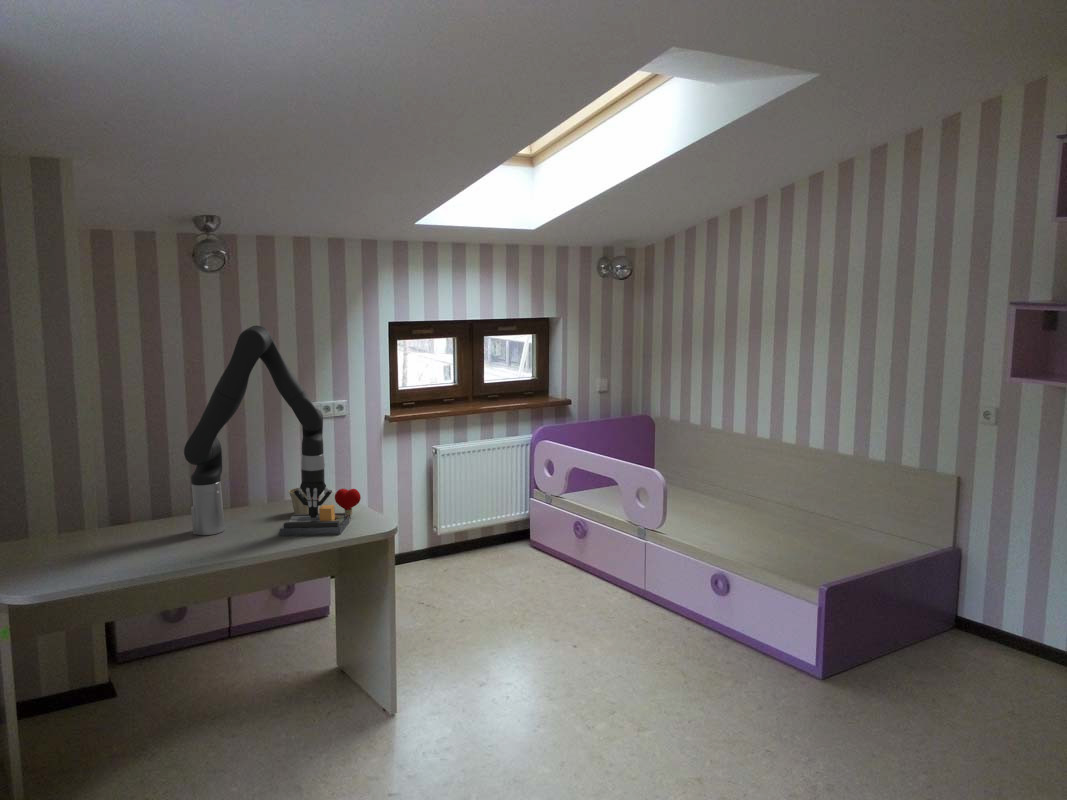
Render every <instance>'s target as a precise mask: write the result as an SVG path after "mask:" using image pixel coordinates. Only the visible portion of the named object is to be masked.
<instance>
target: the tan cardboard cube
mask: <svg viewBox="0 0 1067 800" xmlns="http://www.w3.org/2000/svg"><path fill="white" fill-rule="evenodd" d="M318 513H319V515H320V521H326V520H335V513H336V512H335V504H322V505H321V506H320V507H318Z"/></svg>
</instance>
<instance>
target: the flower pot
mask: <svg viewBox="0 0 1067 800" xmlns="http://www.w3.org/2000/svg"><path fill="white" fill-rule="evenodd" d="M299 488H300V487H295V488H292V489H290V490H287V492H288V494H289V496H290V498H291V503H292V507H293V514H309V507H308V506H307V505H303V504H302V502H301V501H300V500H299V499H298V497H297V496H296V495H295V494H294V491H295V490H297V489H299ZM302 492H303V491H302ZM302 494H303V495H304V496H305V498H306V499H307V496H306V495H305V494H304V492H303V493H302Z"/></svg>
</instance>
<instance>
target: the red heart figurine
mask: <svg viewBox="0 0 1067 800" xmlns="http://www.w3.org/2000/svg"><path fill="white" fill-rule="evenodd" d="M361 499H362V496H361V493H360V491H359V490H357V489H356V488H350V489H345V488H340V489H338V490H337V491H336V492H335V495H334V500H335V503H336V505H338V506H339V507H340V508H342V509H344V513H345V515H346V516H348V515H349V517H351V516H352V515H353V508H354V507H355V506H357V505H359V503H360V501H361Z"/></svg>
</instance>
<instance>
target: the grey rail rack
mask: <svg viewBox="0 0 1067 800" xmlns="http://www.w3.org/2000/svg"><path fill="white" fill-rule="evenodd" d="M335 515H344V518H345V517H346V516H347V515H345V512H335ZM291 516H309V514H295V513H293V514H291ZM317 516H320V515H319V512H318V515H317ZM283 525H284V528H289V527H329V526H338V525H339V521H331V522H291V523H286V522H284V523H283Z"/></svg>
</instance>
